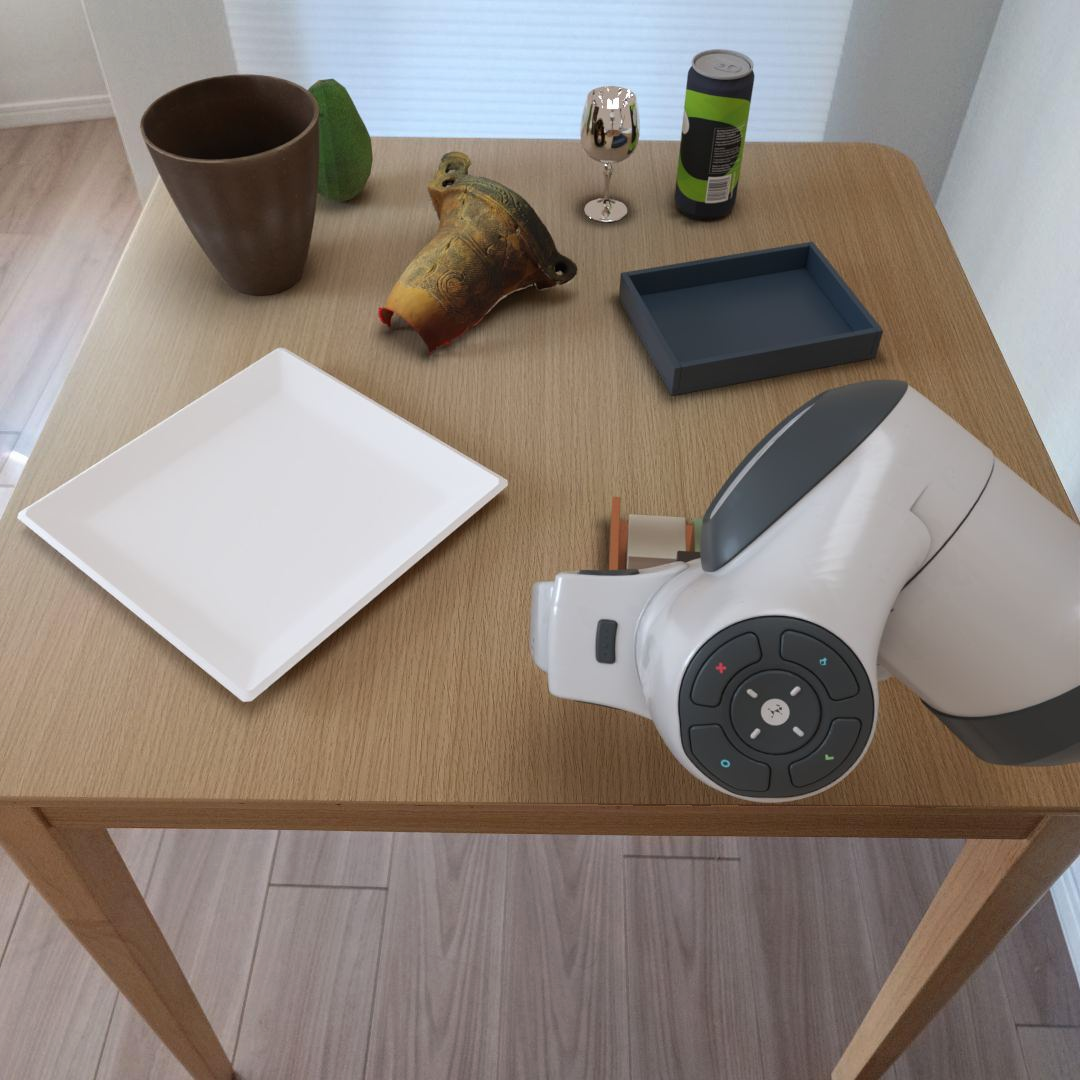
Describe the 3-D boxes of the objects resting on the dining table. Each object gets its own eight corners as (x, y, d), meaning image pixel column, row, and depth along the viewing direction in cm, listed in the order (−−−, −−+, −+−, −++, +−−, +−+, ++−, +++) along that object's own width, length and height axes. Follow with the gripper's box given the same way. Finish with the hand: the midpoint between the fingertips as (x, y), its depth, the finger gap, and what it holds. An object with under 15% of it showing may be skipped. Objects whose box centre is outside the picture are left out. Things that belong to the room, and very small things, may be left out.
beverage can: (742, 198, 114) (764, 55, 103) (723, 228, 111) (744, 83, 99) (685, 185, 116) (701, 42, 105) (665, 214, 112) (679, 69, 101)
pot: (315, 240, 93) (452, 103, 97) (331, 303, 104) (454, 177, 108) (472, 361, 91) (605, 215, 95) (472, 413, 102) (591, 280, 106)
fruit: (303, 221, 111) (283, 107, 102) (296, 181, 116) (276, 69, 107) (382, 211, 112) (369, 98, 103) (372, 172, 118) (358, 61, 109)
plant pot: (331, 322, 100) (304, 160, 88) (168, 321, 100) (119, 159, 88) (351, 231, 110) (329, 74, 98) (203, 230, 110) (162, 73, 98)
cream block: (680, 596, 78) (686, 559, 75) (624, 592, 78) (627, 555, 75) (680, 553, 81) (685, 516, 78) (625, 550, 81) (629, 513, 78)
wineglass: (587, 229, 110) (591, 115, 101) (570, 199, 114) (573, 87, 105) (641, 221, 111) (650, 107, 102) (623, 192, 115) (630, 80, 106)
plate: (511, 499, 85) (511, 480, 84) (252, 720, 72) (246, 702, 70) (284, 362, 96) (280, 343, 95) (22, 532, 83) (13, 513, 81)
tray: (807, 268, 106) (812, 241, 104) (875, 357, 97) (883, 330, 95) (618, 299, 102) (620, 272, 100) (671, 396, 93) (674, 368, 91)
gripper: (938, 595, 54) (867, 572, 68) (525, 570, 55) (538, 552, 69) (928, 721, 55) (860, 673, 68) (518, 695, 55) (533, 652, 69)
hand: (696, 612), depth 69 cm, fingers open, 8 cm apart
